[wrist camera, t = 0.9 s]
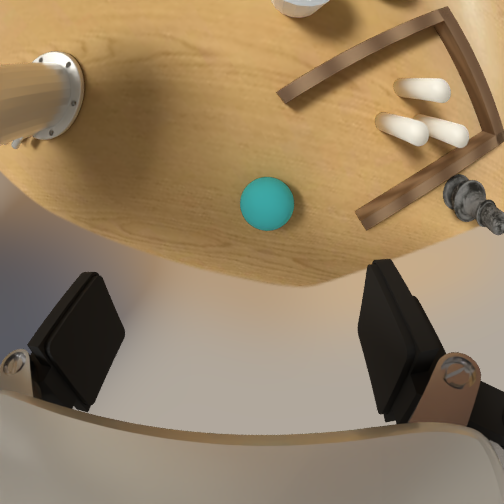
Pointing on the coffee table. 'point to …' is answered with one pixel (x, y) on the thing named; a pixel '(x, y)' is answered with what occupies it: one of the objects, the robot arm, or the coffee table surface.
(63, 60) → the robot arm
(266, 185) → the ball
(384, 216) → the bumper lane
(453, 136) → the pin
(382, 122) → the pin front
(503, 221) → the dark gray figurine
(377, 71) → the coffee table surface
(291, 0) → the white cup
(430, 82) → the pin
